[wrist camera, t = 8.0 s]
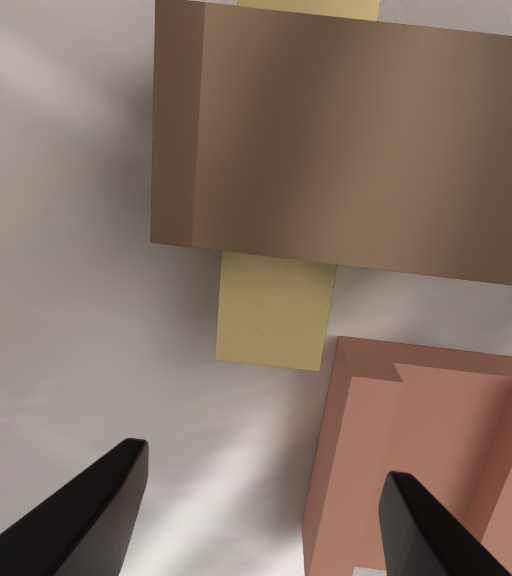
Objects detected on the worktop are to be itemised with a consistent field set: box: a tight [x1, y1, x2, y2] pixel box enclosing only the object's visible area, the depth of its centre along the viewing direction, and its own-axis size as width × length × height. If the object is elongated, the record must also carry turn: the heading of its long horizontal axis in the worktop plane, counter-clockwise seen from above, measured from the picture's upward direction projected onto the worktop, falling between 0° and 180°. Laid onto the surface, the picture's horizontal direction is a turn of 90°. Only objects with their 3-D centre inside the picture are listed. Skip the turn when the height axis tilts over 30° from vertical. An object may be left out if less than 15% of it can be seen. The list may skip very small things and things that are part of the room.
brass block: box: [215, 0, 380, 371], centre depth 15 cm, size 12×4×4 cm, turn 175°
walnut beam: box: [150, 0, 512, 285], centre depth 13 cm, size 13×6×6 cm, turn 84°
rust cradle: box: [302, 336, 512, 576], centre depth 19 cm, size 9×12×4 cm
